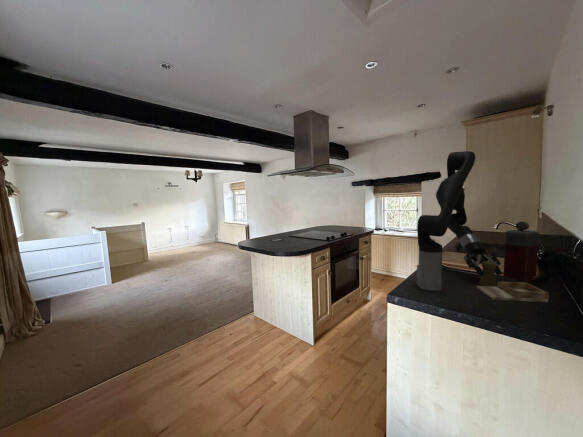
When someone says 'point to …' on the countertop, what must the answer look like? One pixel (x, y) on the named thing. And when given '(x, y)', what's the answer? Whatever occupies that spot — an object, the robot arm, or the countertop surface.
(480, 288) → the socket board
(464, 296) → the countertop surface
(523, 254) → the red coffee grinder
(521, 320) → the countertop surface
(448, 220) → the robot arm
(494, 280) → the olive yellow waisted cylinder
